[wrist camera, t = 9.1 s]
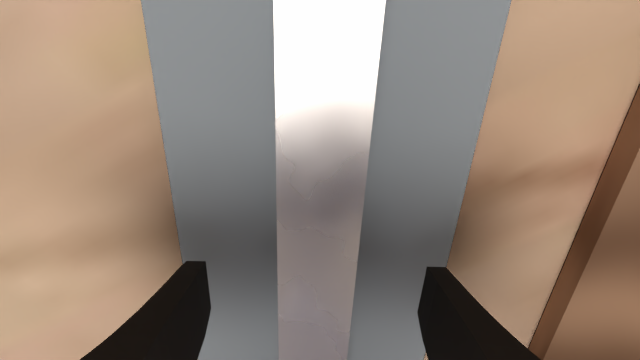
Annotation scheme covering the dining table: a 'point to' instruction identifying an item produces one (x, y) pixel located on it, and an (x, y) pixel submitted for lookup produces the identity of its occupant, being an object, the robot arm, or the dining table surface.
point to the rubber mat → (260, 160)
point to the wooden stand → (601, 267)
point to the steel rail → (321, 165)
